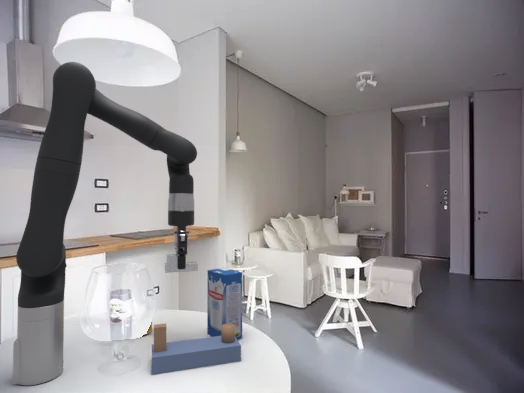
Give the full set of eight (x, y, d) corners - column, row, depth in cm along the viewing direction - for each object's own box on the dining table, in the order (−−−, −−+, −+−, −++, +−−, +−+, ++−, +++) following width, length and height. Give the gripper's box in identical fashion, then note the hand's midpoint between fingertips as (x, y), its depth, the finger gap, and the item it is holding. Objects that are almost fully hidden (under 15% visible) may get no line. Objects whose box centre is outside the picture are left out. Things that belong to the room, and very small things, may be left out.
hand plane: (151, 374, 79) (151, 332, 79) (151, 360, 86) (151, 321, 87) (240, 361, 86) (240, 322, 86) (233, 348, 93) (233, 312, 94)
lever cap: (165, 272, 93) (165, 256, 93) (164, 269, 98) (164, 254, 98) (197, 270, 96) (197, 255, 96) (195, 267, 101) (195, 252, 101)
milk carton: (207, 334, 104) (207, 270, 104) (223, 329, 108) (223, 267, 108) (225, 344, 96) (225, 275, 97) (242, 338, 100) (242, 272, 101)
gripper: (167, 209, 103) (166, 264, 103) (169, 209, 89) (168, 273, 89) (191, 209, 105) (191, 262, 105) (197, 209, 92) (196, 271, 91)
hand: (180, 267), depth 97 cm, fingers closed on lever cap, 5 cm apart
